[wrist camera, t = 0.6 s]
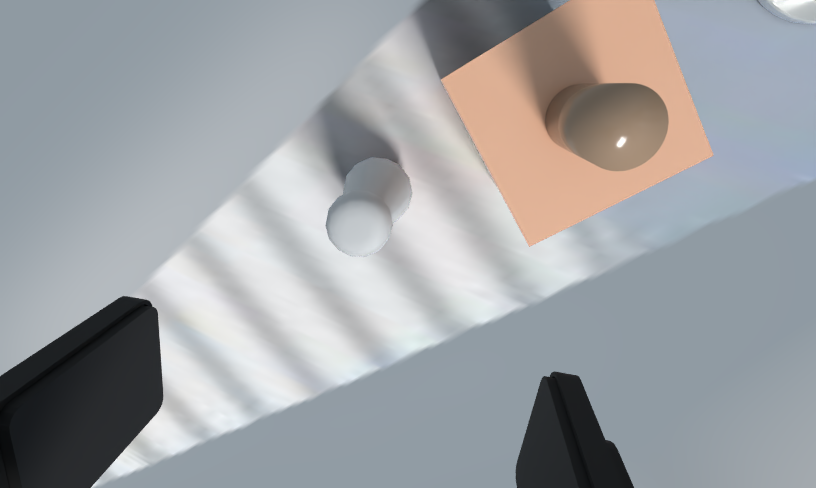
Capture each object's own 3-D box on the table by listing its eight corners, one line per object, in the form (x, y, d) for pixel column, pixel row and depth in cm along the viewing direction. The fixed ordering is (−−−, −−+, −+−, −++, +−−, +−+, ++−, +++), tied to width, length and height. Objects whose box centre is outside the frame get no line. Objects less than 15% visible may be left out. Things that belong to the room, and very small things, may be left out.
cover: (554, 12, 35) (714, -91, 15) (605, 127, 38) (803, 178, 17) (441, 81, 38) (440, 77, 17) (496, 185, 40) (555, 293, 19)
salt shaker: (336, 178, 41) (291, 218, 29) (386, 139, 39) (361, 164, 27) (376, 229, 42) (349, 288, 30) (426, 193, 41) (419, 239, 28)
